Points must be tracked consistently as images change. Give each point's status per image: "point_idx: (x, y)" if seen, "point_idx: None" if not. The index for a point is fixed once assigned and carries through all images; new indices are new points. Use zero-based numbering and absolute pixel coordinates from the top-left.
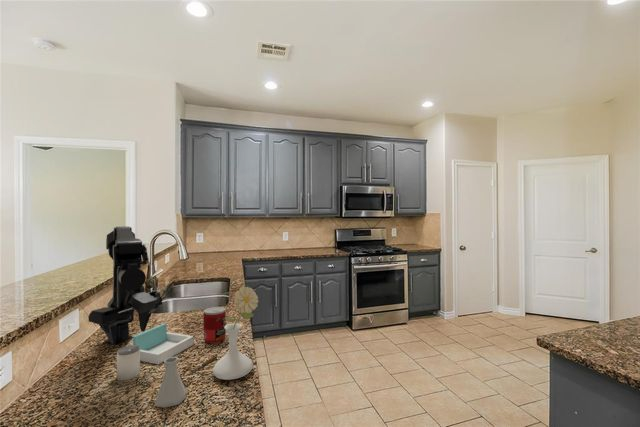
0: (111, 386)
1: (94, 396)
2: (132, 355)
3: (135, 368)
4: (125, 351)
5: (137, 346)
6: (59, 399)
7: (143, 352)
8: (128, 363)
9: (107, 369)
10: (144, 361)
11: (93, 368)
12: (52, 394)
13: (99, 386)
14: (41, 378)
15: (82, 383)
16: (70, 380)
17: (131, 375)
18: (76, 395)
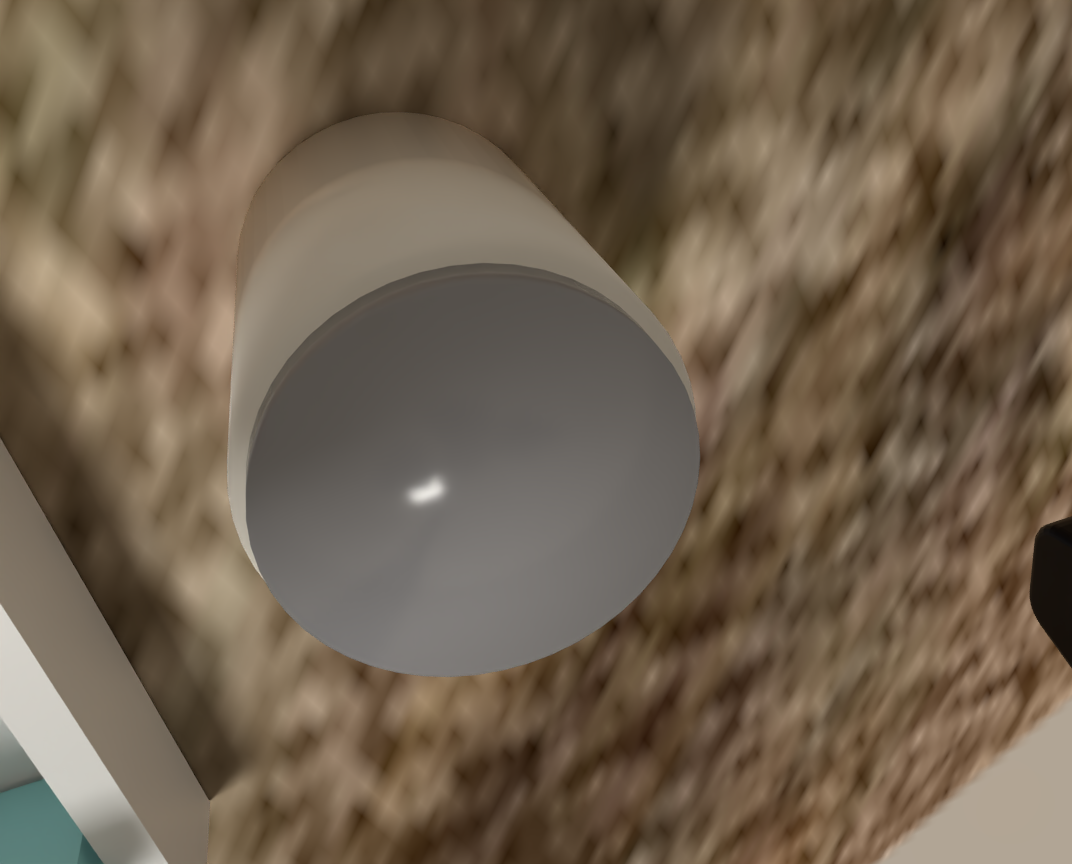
0: (689, 141)
1: (920, 62)
2: (490, 232)
3: (377, 147)
4: (598, 414)
5: (282, 484)
6: (1061, 346)
7: (27, 637)
8: (530, 201)
9: None
10: (46, 521)
11: (563, 768)
12: (1016, 504)
13: (754, 283)
14: (874, 853)
15: (792, 515)
16: (803, 664)
17: (434, 125)
18: (966, 286)
